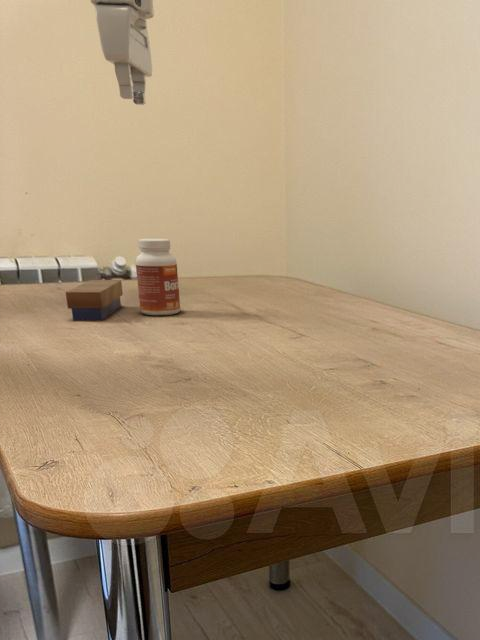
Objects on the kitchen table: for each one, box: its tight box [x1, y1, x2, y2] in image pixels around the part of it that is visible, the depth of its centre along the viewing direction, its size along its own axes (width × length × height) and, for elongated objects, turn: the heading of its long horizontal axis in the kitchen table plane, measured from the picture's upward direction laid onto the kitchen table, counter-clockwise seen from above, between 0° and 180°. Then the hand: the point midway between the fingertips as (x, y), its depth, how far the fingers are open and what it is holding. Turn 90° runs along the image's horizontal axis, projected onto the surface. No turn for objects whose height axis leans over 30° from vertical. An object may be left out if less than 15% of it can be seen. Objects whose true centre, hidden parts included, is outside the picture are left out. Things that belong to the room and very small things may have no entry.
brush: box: [65, 279, 124, 321], centre depth 110 cm, size 13×5×4 cm, turn 4°
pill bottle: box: [135, 238, 181, 316], centre depth 110 cm, size 6×6×11 cm
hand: (133, 101), depth 116 cm, fingers open, 8 cm apart
